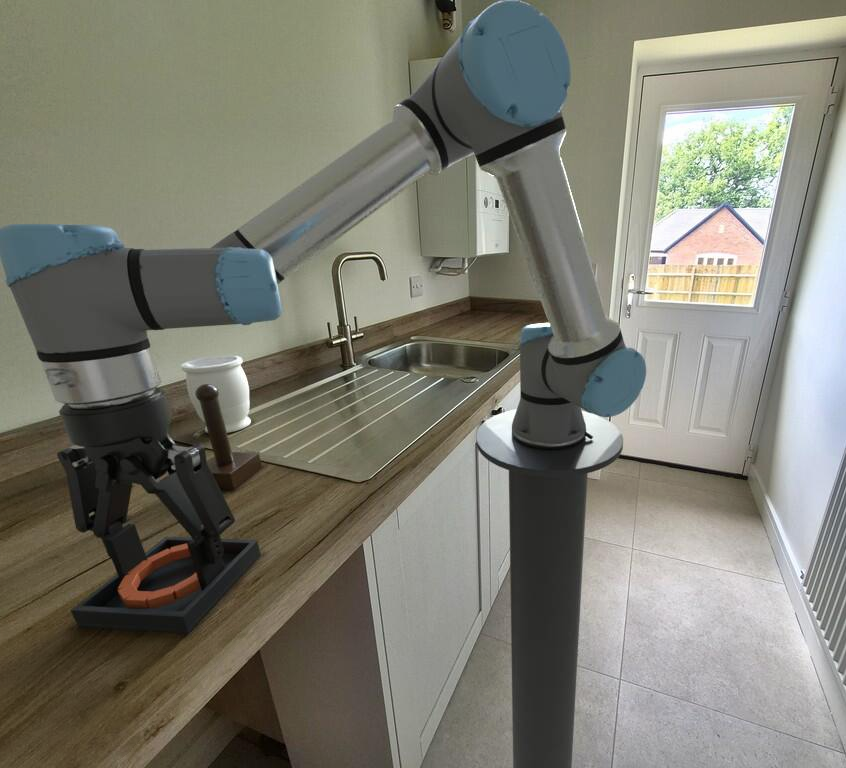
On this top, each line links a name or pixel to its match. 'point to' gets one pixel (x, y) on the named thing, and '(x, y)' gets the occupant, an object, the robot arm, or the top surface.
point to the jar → (221, 387)
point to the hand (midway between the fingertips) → (175, 580)
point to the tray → (176, 616)
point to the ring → (159, 597)
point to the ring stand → (224, 444)
